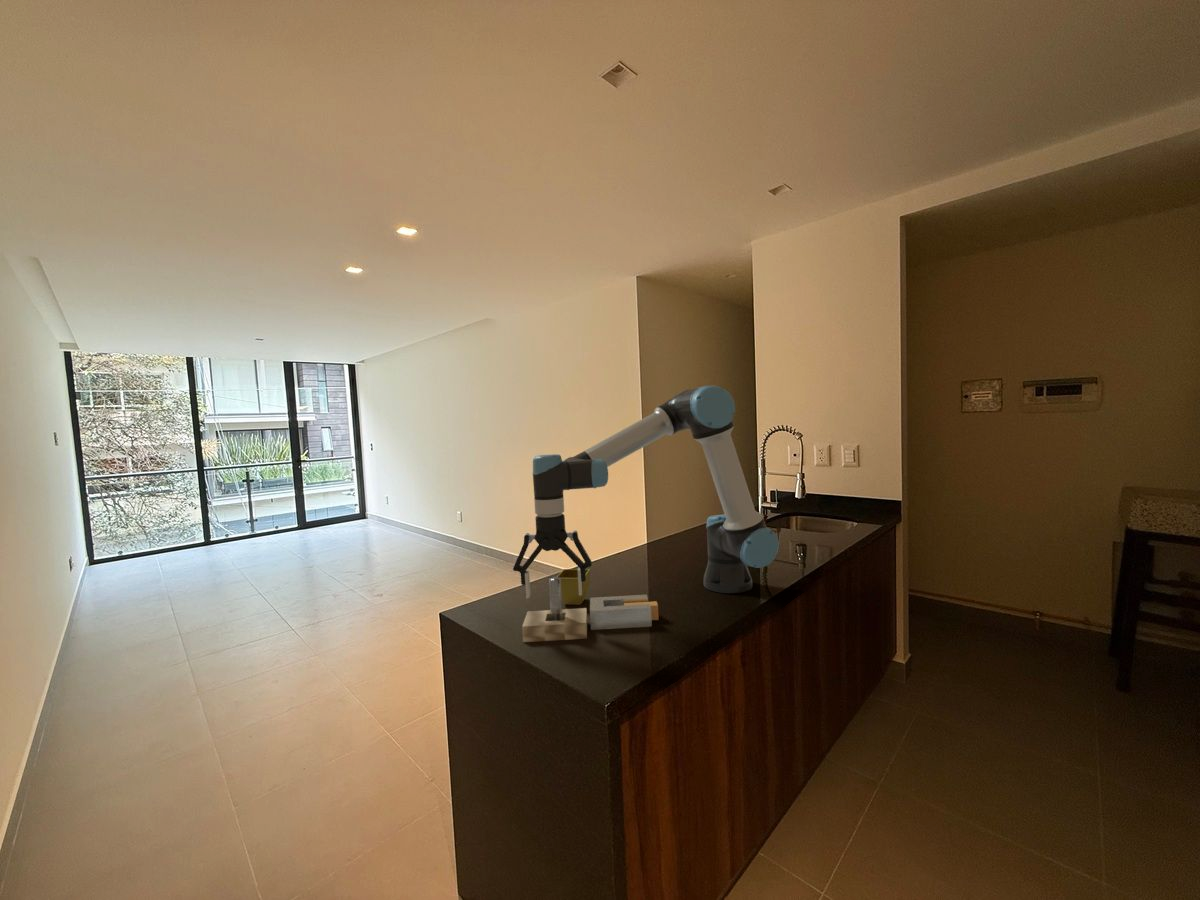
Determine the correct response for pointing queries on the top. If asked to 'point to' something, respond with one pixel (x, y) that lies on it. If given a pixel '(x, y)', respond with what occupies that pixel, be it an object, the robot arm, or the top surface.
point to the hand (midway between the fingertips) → (554, 595)
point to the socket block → (619, 612)
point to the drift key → (653, 608)
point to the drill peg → (555, 598)
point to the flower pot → (573, 586)
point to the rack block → (555, 625)
